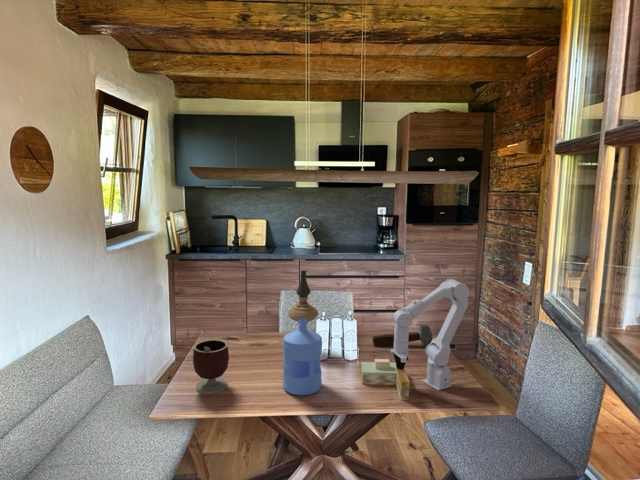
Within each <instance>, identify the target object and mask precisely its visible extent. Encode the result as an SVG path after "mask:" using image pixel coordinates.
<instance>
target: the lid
mask: <svg viewBox="0 0 640 480" xmlns="http://www.w3.org/2000/svg"><path fill="white" fill-rule="evenodd" d="M361 367H362V373H363V375H385V376H396V373H397V368H396V362H391V361H390V359H389V358H375V359H374V361H360V368H361Z"/></svg>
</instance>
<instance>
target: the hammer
mask: <svg viewBox="0 0 640 480" xmlns="http://www.w3.org/2000/svg"><path fill="white" fill-rule="evenodd" d="M432 340H433V334H432V331H431V328H430V325H429V324H428V323H421V324H420V325H419V326H418V332H409V338H408V343H410V342H416V341H420V342H421V344H422V346H424V347H425V348H426V347H427V346H428V345H429V344H430V343H431V342H432ZM372 344H373V346H374V347H388V346H392V345H393V346H394V333H391V334H390V333H389V334H380V335H379V334H378V335H373V336H372Z"/></svg>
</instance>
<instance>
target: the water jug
mask: <svg viewBox="0 0 640 480" xmlns="http://www.w3.org/2000/svg"><path fill="white" fill-rule="evenodd" d="M306 322H307V320H306V319H300V320H299V323H298V329H296V330H294V331H291V332H288V333H286V334H285V335H284V336H283V341H282V348H283V352H282V353H283V360H282V366H283V367H282V369H283V380H282V386H283V389H284V390H285V391H286V392H287V393H288V394H291V395H295V396H308V395H309V396H310V395H313V394H315V393H317V392H319V391H320V389H322V386H323V385H322V368H321V357H322V352H323V340H322V339H323V338H322V336H321V335H320V334H319V333H318V332H315V331H312V330H310V329H308V328H307V325H308V323H307V324H306ZM307 329H308V330H307Z"/></svg>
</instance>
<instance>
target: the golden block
mask: <svg viewBox="0 0 640 480" xmlns="http://www.w3.org/2000/svg"><path fill="white" fill-rule="evenodd" d="M397 377H398V380H399V383H400V385H401V388H409V389H410V385H411V383H410V382H411V381H410V380H409V376H408V375H407V372H406V369H405V368H404V369H397Z"/></svg>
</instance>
